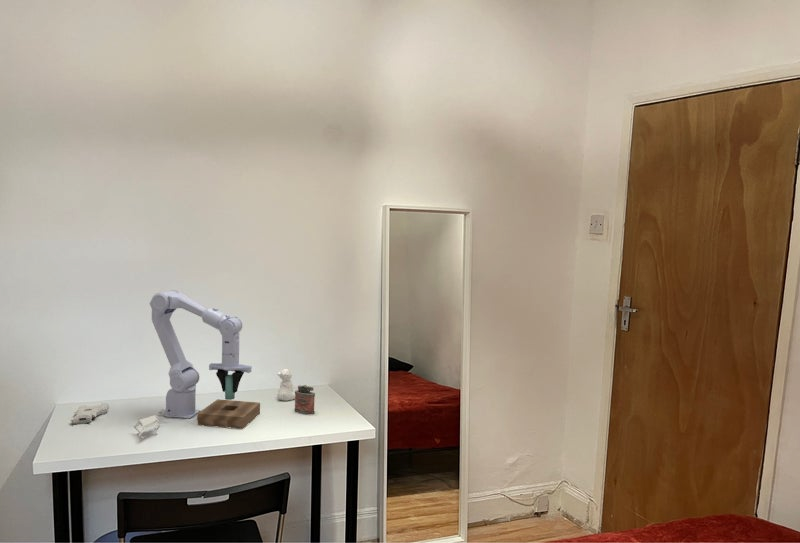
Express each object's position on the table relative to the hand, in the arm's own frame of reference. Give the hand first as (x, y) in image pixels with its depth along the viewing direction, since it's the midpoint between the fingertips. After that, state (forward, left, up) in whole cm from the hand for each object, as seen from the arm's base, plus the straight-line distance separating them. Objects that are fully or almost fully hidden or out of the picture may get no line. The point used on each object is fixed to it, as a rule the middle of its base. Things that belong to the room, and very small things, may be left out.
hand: (229, 391), depth 207 cm
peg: (0, 0, -2) cm, 2 cm away
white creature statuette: (+12, +27, -10) cm, 31 cm away
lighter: (+23, +13, -10) cm, 28 cm away
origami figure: (-19, -21, -10) cm, 30 cm away
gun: (-47, -8, -10) cm, 49 cm away
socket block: (0, 0, -10) cm, 10 cm away
